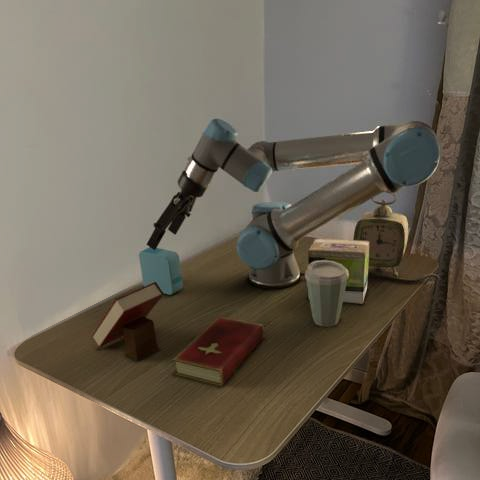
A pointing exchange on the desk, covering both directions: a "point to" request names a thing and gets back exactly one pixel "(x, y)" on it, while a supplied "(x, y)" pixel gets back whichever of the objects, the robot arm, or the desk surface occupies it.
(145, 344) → the walnut box
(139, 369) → the desk surface
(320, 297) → the disposable coffee cup
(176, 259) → the data package
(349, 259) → the tea box
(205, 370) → the hardcover book
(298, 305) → the desk surface
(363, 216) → the tabletop clock
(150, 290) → the book
